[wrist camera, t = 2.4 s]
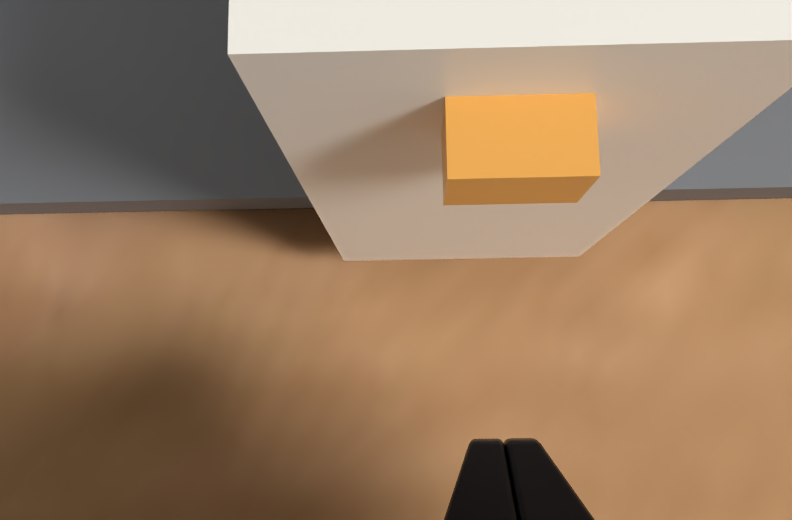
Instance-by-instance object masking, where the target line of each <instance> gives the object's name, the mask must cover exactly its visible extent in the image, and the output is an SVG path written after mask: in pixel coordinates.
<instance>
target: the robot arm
mask: <svg viewBox="0 0 792 520" xmlns="http://www.w3.org/2000/svg"><path fill="white" fill-rule="evenodd" d="M444 520H594V518H593V517H592V515H591V514H590V513H589V511H588V510H587V508H586V507H585V506H584V504H583V503H582V501H581V500H580V499H579V497H578V496H577V494H576V493H575V492H574V490H573V489H572V487H571V486H570V484H569V483H568V482H567V480H566V479H565V477H564V476H563V475H562V473H561V472H560V470H559V469H558V468H557V466H556V465H555V463H554V462H553V461H552V459H551V458H550V456H549V455H548V453H547V452H546V451H545V449H544V448H543V446H542V445H541V444H540V443H539V442H538V441H537V440H535V439H532V438H512V439H507V440H505V442H504V444H503V442H502V441H501V440H500V439H473V440H472V441H471V442H470V443H469V446H468V449H467V452H466V455H465V458H464V461H463V464H462V467H461V470H460V473H459V476H458V479H457V482H456V485H455V488H454V491H453V494H452V497H451V500H450V503H449V506H448V509H447V512H446V515H445V518H444Z"/></svg>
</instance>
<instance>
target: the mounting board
mask: <svg viewBox="0 0 792 520" xmlns="http://www.w3.org/2000/svg"><path fill="white" fill-rule="evenodd" d="M228 16H229V0H0V214H43V213H92V212H140V211H188V210H237V209H285V208H314V207H313V205H312V203H311V202H310V200H309V198H308V196H307V195H306V193H305V191H304V189H303V187H302V186H301V184H300V182H299V180H298V179H297V177H296V175H295V173H294V171H293V170H292V168H291V166H290V164H289V163H288V161H287V159H286V157H285V155H284V154H283V152H282V150H281V148H280V147H279V145H278V143H277V141H276V139H275V138H274V136H273V134H272V132H271V131H270V129H269V127H268V125H267V123H266V122H265V120H264V118H263V116H262V115H261V113H260V111H259V109H258V108H257V106H256V104H255V102H254V100H253V99H252V97H251V95H250V93H249V92H248V90H247V88H246V86H245V84H244V83H243V81H242V79H241V77H240V76H239V74H238V72H237V70H236V68H235V67H234V65H233V63H232V61H231V60H230V58H229V56H228ZM769 198H792V88H790V89H789V90H788V91H787V92H785V93H784V94H783V95H782V96H780V97H779V98H778V99H777V100H775V101H774V102H773V103H771V104H770V105H769V106H768V107H766V108H765V109H764V110H763V111H761V112H760V113H759V114H758V115H756V116H755V117H754V118H753V119H751V120H750V121H749V122H748V123H746V124H745V125H744V126H743V127H741V128H740V129H739V130H738V131H736V132H735V133H734V134H732V135H731V136H730V137H729V138H727V139H726V140H725V141H724V142H722V143H721V144H720V145H719V146H717V147H716V148H715V149H714V150H712V151H711V152H710V153H709V154H707V155H706V156H705V157H704V158H702V159H701V160H700V161H698V162H697V163H696V164H695V165H693V166H692V167H691V168H690V169H688V170H687V171H686V172H685V173H683V174H682V175H681V176H680V177H678V178H677V179H676V180H675V181H673V182H672V183H671V184H670V185H668V186H667V187H666V188H665V189H663V190H662V191H661V192H659V193H658V194H657V195H656V196H654V197H653V198H652V199H651V200H649V201H672V200H721V199H769Z"/></svg>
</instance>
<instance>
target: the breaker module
mask: <svg viewBox="0 0 792 520" xmlns="http://www.w3.org/2000/svg"><path fill="white" fill-rule="evenodd" d="M228 56H229V58H230V60H231V61H232V63H233V65H234V67H235V68H236V70H237V72H238V74H239V76H240V77H241V79H242V81H243V83H244V84H245V86H246V88H247V90H248V92H249V93H250V95H251V97H252V99H253V100H254V102H255V104H256V106H257V108H258V109H259V111H260V113H261V115H262V116H263V118H264V120H265V122H266V123H267V125H268V127H269V129H270V131H271V132H272V134H273V136H274V138H275V139H276V141H277V143H278V145H279V147H280V148H281V150H282V152H283V154H284V155H285V157H286V159H287V161H288V163H289V164H290V166H291V168H292V170H293V171H294V173H295V175H296V177H297V179H298V180H299V182H300V184H301V186H302V187H303V189H304V191H305V193H306V195H307V196H308V198H309V200H310V202H311V203H312V205H313V207H314V209H315V211H316V212H317V214H318V216H319V218H320V219H321V221H322V223H323V225H324V226H325V228H326V230H327V232H328V234H329V235H330V237H331V239H332V241H333V242H334V244H335V246H336V248H337V250H338V251H339V253H340V255H341V257H342V258H343V260H344V261H368V260H421V259H473V258H526V257H578V256H580V255H581V254H583V253H584V252H585V251H586V250H588V249H589V248H590V247H592V246H593V245H594V244H595V243H597V242H598V241H599V240H600V239H602V238H603V237H604V236H605V235H607V234H608V233H609V232H610V231H612V230H613V229H614V228H615V227H617V226H618V225H619V224H620V223H622V222H623V221H624V220H625V219H627V218H628V217H629V216H631V215H632V214H633V213H634V212H636V211H637V210H638V209H639V208H641V207H642V206H643V205H644V204H646V203H647V202H648V201H649V200H651V199H652V198H653V197H654V196H656V195H657V194H658V193H659V192H661V191H662V190H663V189H665V188H666V187H667V186H668V185H670V184H671V183H672V182H673V181H675V180H676V179H677V178H678V177H680V176H681V175H682V174H683V173H685V172H686V171H687V170H688V169H690V168H691V167H692V166H693V165H695V164H696V163H697V162H698V161H700V160H701V159H702V158H704V157H705V156H706V155H707V154H709V153H710V152H711V151H712V150H714V149H715V148H716V147H717V146H719V145H720V144H721V143H722V142H724V141H725V140H726V139H727V138H729V137H730V136H731V135H732V134H734V133H735V132H736V131H738V130H739V129H740V128H741V127H743V126H744V125H745V124H746V123H748V122H749V121H750V120H751V119H753V118H754V117H755V116H756V115H758V114H759V113H760V112H761V111H763V110H764V109H765V108H766V107H768V106H769V105H770V104H771V103H773V102H774V101H775V100H777V99H778V98H779V97H780V96H782V95H783V94H784V93H785V92H787V91H788V90H789V89H790V88H792V0H229V16H228Z"/></svg>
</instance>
